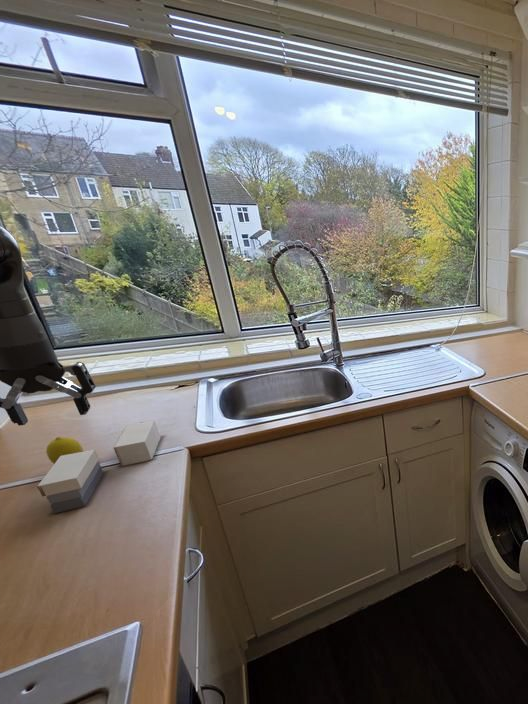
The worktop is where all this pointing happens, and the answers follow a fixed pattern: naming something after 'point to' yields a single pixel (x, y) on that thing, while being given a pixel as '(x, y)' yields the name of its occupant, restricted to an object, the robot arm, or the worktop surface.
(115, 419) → the worktop surface
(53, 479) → the cream flat slab
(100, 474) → the gray block
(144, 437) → the white block
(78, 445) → the lemon
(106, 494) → the worktop surface
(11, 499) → the worktop surface
